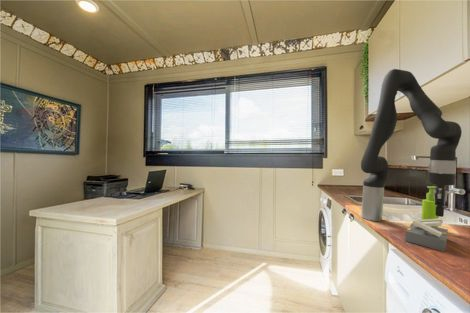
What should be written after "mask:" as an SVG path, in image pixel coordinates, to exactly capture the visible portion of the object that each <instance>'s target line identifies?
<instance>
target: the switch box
mask: <svg viewBox="0 0 470 313" xmlns="http://www.w3.org/2000/svg"><path fill="white" fill-rule="evenodd" d="M430 227H432V228H434V229H436V230H438V231H440V232H442V234H441V236H440V237H438V236H436V235H434V234H432V233H430V232H428V231H426V230H424V229H422V228H420V227H414V226H413V224H412V223H411V224H410V225H409V226H408V227H407V229H406V230H405V237H404V238H405V239H404V240H405V242H407V243H412V244H415V245H418V246H423V247H426V248H430V249H433V250H436V251H440V252H446V246H447V242H448V235H449V233H448V232H449V229H448V228H443V227H440V226H438V227H434V226H430Z"/></svg>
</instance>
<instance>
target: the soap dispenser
mask: <svg viewBox="0 0 470 313" xmlns="http://www.w3.org/2000/svg"><path fill="white" fill-rule="evenodd" d="M426 187H427V188H428V192H426V195H425V196H426V198H425V199H422V201H421V202H422V203H421V218H420V220H424V219H440V218H439V217H440V216H436V206H435V200H434V193H433V189H434V188H436V186H434V185H431V186H429V185H428V186H426ZM434 227H439V226H434Z"/></svg>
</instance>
